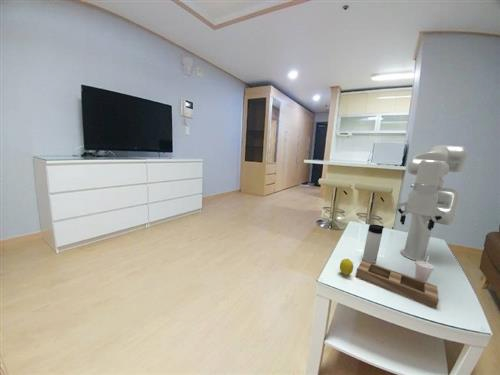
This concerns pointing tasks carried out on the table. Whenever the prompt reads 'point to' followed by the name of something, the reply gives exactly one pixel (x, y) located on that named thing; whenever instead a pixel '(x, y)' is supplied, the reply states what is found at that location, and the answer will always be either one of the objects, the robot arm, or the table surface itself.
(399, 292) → the wooden frame
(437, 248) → the table surface
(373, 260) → the travel mug
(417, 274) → the smoothie
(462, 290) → the table surface
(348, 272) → the lemon
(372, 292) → the table surface
